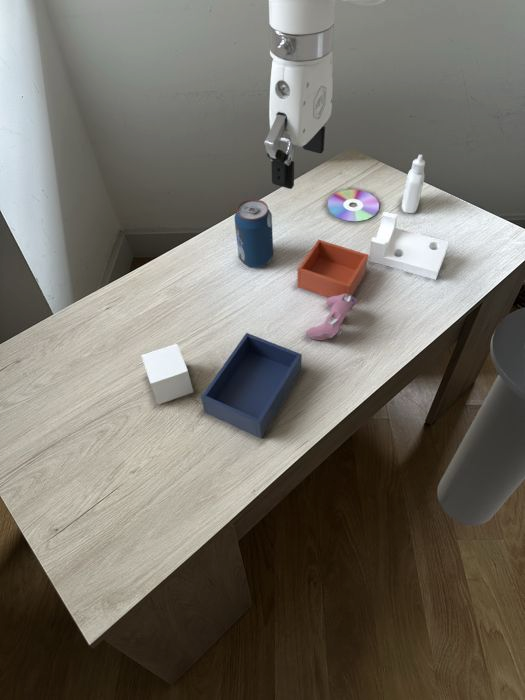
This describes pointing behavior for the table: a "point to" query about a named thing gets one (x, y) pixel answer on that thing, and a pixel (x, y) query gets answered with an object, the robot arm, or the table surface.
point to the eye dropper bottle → (413, 186)
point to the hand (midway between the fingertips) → (298, 167)
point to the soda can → (254, 233)
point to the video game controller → (333, 317)
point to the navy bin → (252, 384)
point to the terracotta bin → (332, 270)
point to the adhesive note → (167, 373)
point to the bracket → (407, 249)
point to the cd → (363, 211)
